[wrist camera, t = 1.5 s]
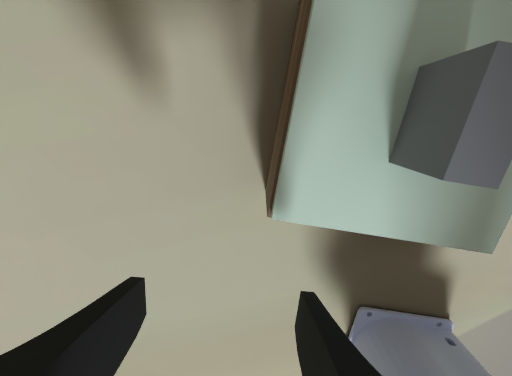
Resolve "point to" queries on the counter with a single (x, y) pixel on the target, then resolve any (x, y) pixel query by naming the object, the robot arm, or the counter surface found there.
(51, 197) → the counter surface
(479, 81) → the lid
